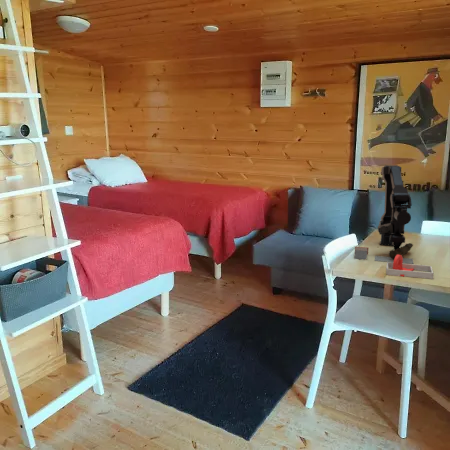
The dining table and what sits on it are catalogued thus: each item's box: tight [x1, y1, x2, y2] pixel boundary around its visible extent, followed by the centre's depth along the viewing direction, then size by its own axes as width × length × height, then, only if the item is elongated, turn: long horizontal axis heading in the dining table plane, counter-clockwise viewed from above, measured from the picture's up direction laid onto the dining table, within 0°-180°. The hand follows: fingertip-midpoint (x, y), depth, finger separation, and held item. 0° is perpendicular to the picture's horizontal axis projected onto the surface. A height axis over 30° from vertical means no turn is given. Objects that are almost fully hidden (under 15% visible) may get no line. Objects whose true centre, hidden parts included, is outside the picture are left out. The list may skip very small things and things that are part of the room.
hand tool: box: [388, 243, 414, 259], centre depth 201 cm, size 19×4×5 cm, turn 134°
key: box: [354, 246, 369, 256], centre depth 203 cm, size 7×6×3 cm
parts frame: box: [385, 262, 434, 280], centre depth 179 cm, size 10×17×2 cm, turn 70°
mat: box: [374, 255, 415, 265], centre depth 197 cm, size 8×16×1 cm, turn 70°
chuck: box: [354, 246, 368, 260], centre depth 201 cm, size 5×5×4 cm
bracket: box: [392, 255, 415, 278], centre depth 180 cm, size 12×4×8 cm, turn 137°
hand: (395, 252), depth 203 cm, fingers closed, pressing on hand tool
